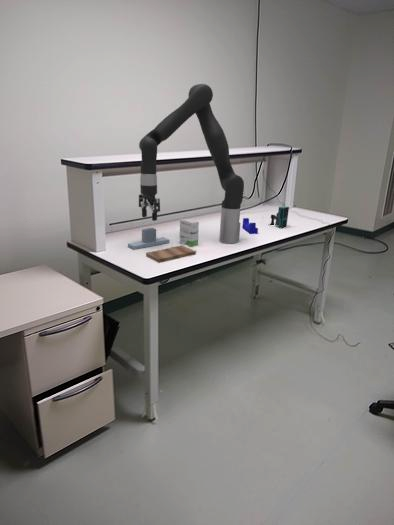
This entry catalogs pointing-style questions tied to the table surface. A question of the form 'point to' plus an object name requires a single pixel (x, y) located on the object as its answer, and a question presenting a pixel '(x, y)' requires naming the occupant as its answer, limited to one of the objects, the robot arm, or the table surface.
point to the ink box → (189, 232)
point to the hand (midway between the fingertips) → (149, 218)
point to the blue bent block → (249, 226)
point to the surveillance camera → (280, 217)
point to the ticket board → (170, 253)
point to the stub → (148, 239)
